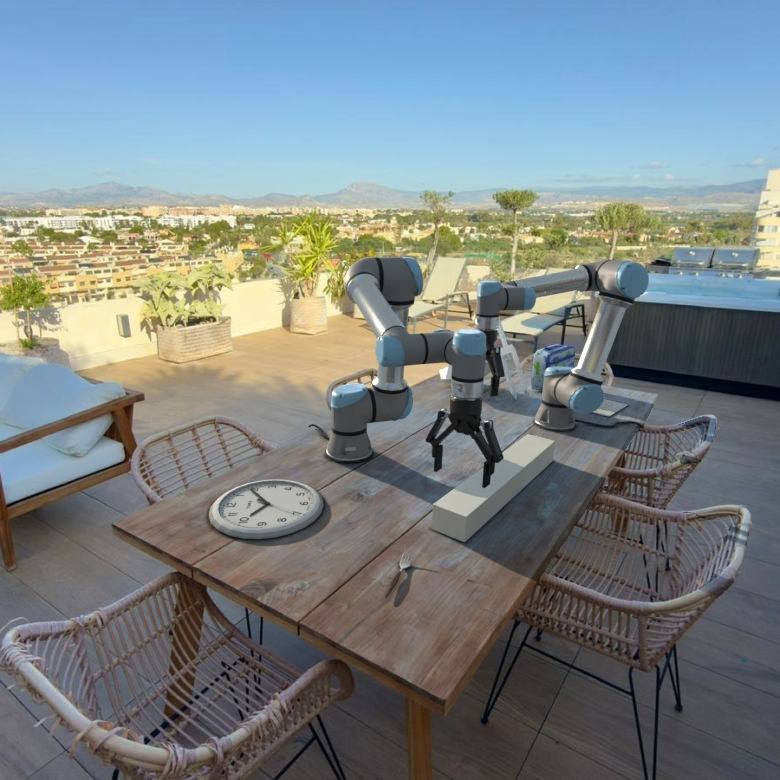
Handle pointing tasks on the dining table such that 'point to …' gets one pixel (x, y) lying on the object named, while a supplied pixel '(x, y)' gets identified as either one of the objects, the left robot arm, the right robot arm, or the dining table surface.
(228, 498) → the wall clock
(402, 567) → the fork
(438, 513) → the off-white long beam
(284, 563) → the dining table surface
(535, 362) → the lunch box
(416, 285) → the left robot arm
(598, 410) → the invitation card
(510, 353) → the white plastic object
